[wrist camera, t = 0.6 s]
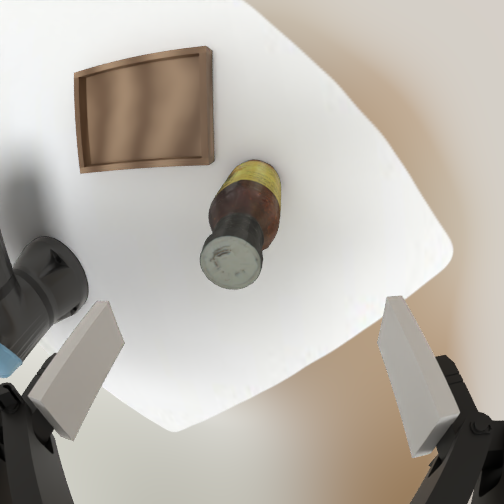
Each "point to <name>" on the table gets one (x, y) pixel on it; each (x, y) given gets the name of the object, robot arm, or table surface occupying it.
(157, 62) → the tray
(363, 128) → the table surface
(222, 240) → the sauce bottle
